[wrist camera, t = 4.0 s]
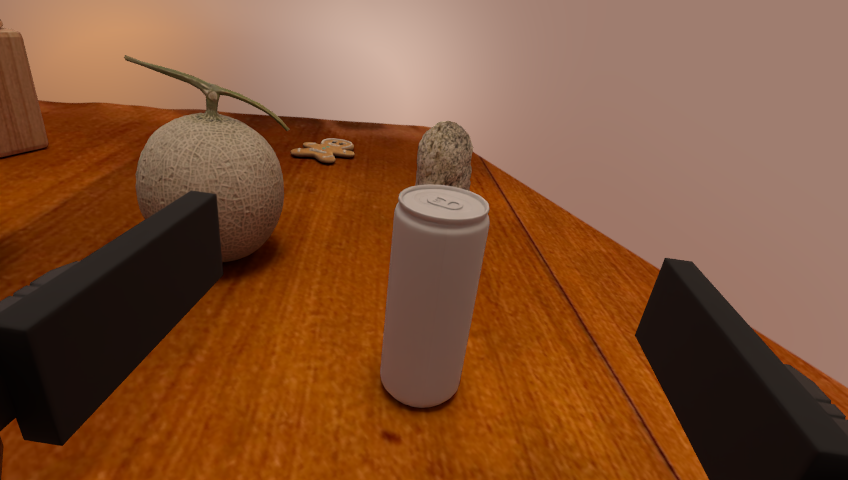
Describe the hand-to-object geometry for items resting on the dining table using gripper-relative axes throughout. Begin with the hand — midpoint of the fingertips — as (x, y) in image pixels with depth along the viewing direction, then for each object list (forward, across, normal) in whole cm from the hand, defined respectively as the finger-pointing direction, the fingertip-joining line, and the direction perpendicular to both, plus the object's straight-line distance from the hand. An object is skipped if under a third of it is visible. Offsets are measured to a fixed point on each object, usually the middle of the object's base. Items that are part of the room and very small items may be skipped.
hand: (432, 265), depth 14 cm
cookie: (+53, -17, -14) cm, 58 cm away
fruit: (+22, -18, -14) cm, 31 cm away
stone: (+38, 0, -14) cm, 40 cm away
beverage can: (+10, 0, -14) cm, 17 cm away
